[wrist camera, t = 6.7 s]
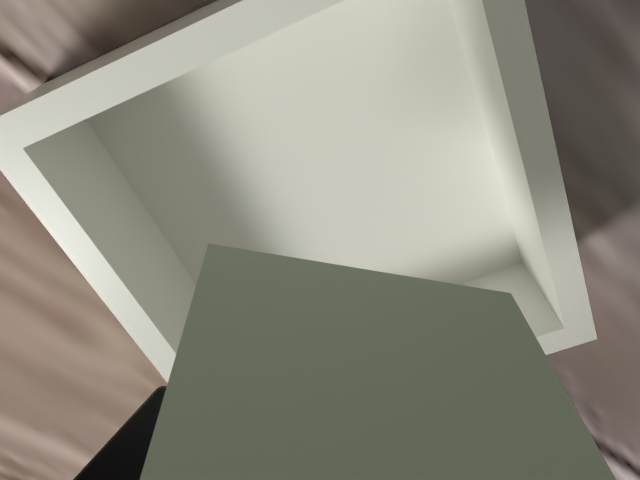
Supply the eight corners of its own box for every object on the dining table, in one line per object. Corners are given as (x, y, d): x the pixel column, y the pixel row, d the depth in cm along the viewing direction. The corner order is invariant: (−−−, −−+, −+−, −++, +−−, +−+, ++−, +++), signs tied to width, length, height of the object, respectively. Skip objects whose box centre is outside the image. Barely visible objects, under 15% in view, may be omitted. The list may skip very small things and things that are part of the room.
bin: (237, 369, 21) (225, 456, 18) (43, 83, 16) (-31, 130, 12) (544, 263, 19) (597, 338, 16) (448, -112, 13) (498, -122, 10)
